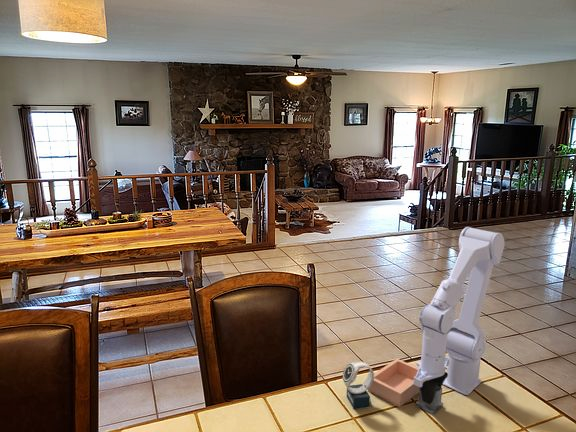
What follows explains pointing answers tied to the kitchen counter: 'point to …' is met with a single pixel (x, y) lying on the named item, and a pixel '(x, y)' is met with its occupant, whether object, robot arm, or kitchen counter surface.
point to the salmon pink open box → (395, 382)
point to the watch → (357, 392)
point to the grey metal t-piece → (435, 403)
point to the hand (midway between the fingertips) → (429, 399)
